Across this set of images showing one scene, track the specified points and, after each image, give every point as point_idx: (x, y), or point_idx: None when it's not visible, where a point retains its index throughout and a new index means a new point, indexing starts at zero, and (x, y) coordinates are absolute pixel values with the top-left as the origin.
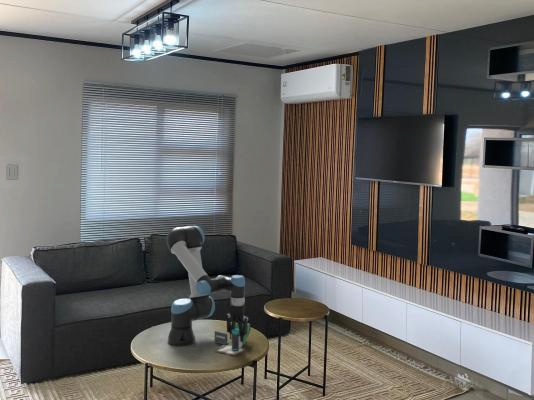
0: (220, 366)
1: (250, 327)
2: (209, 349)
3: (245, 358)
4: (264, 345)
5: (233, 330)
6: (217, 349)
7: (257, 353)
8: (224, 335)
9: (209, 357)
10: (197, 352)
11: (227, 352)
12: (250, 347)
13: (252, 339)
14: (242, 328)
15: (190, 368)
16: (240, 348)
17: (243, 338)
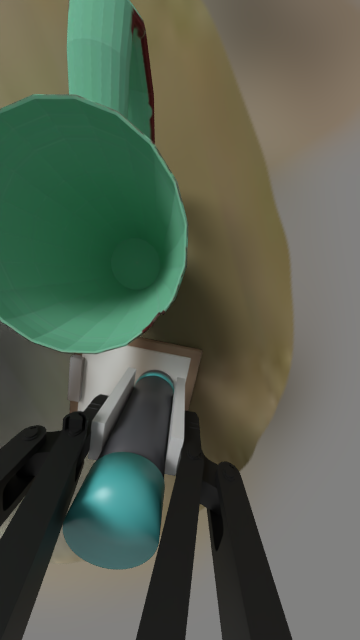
0: (162, 528)
1: (147, 53)
2: (34, 396)
3: (230, 440)
4: (284, 237)
5: (96, 560)
6: (71, 401)
7: (270, 369)
8: None
9: (83, 471)
10: None
11: None
12: (211, 301)
13: (180, 151)
14: (191, 554)
15: (76, 561)
16: (172, 358)
17: (199, 430)
